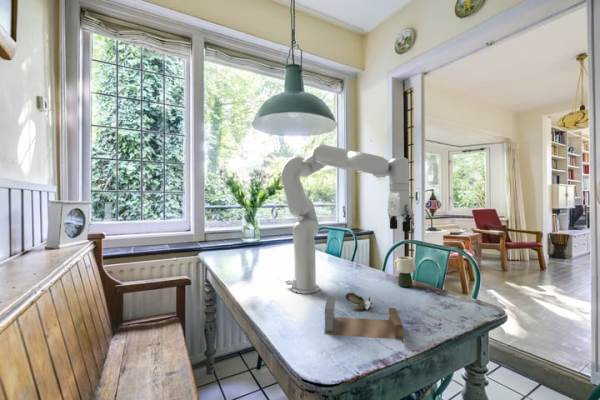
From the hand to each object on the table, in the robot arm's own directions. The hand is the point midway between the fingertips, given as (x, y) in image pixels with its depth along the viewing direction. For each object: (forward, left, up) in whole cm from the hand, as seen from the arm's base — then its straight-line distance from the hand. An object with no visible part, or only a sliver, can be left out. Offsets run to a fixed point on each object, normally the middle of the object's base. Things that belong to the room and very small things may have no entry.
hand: (399, 230), depth 113 cm
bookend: (-27, -32, -26) cm, 49 cm away
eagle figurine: (-18, -17, -28) cm, 37 cm away
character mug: (+5, +15, -28) cm, 32 cm away
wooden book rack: (-17, -32, -28) cm, 46 cm away
